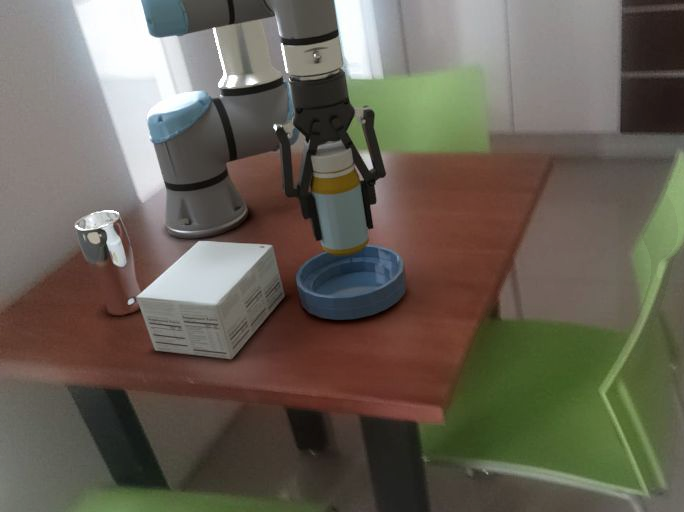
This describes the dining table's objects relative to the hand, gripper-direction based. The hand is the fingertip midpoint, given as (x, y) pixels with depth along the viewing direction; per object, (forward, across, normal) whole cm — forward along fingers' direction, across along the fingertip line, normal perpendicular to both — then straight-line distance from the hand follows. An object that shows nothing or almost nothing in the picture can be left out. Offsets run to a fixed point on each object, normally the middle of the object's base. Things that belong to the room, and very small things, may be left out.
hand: (343, 230), depth 114 cm
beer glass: (+11, -34, +14) cm, 38 cm away
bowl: (+11, 0, 0) cm, 11 cm away
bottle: (+3, 0, 0) cm, 3 cm away
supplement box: (+11, -20, +1) cm, 23 cm away
